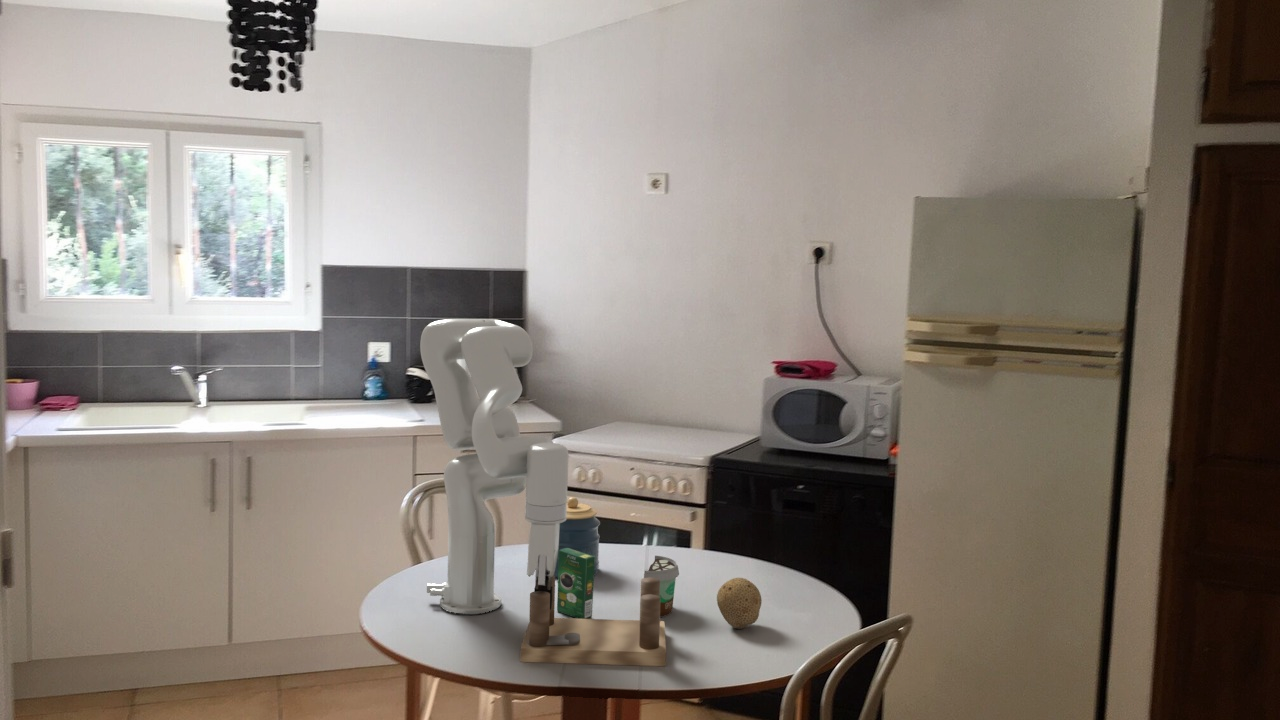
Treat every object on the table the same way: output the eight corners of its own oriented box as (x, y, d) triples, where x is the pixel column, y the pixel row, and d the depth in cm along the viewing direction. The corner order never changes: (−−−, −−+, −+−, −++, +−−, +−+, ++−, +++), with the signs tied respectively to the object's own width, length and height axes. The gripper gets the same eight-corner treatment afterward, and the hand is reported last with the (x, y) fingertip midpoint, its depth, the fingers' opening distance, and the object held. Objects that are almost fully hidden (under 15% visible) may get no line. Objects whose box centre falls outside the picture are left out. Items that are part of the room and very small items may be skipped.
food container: (672, 622, 201) (674, 574, 200) (642, 619, 202) (644, 571, 201) (682, 603, 213) (683, 557, 212) (653, 600, 214) (655, 554, 213)
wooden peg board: (520, 661, 179) (521, 599, 178) (530, 629, 195) (531, 572, 194) (665, 666, 179) (667, 603, 178) (664, 633, 195) (665, 576, 194)
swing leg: (579, 638, 184) (580, 590, 183) (580, 645, 180) (581, 596, 179) (528, 639, 182) (529, 591, 181) (529, 646, 179) (530, 597, 178)
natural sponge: (724, 616, 205) (726, 568, 205) (766, 623, 202) (768, 575, 201) (710, 630, 197) (711, 581, 196) (753, 638, 194) (755, 587, 193)
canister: (575, 560, 242) (576, 488, 240) (610, 573, 232) (612, 498, 231) (531, 570, 233) (533, 495, 231) (566, 584, 223) (568, 506, 222)
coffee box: (594, 618, 202) (595, 554, 201) (584, 621, 200) (585, 557, 199) (566, 608, 207) (567, 546, 206) (556, 611, 205) (557, 549, 204)
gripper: (529, 500, 190) (526, 593, 192) (520, 521, 175) (517, 622, 177) (569, 501, 190) (565, 595, 192) (563, 523, 175) (560, 624, 177)
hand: (542, 608), depth 185 cm, fingers closed
